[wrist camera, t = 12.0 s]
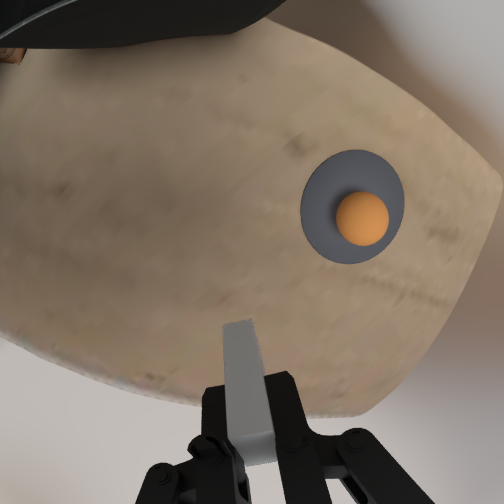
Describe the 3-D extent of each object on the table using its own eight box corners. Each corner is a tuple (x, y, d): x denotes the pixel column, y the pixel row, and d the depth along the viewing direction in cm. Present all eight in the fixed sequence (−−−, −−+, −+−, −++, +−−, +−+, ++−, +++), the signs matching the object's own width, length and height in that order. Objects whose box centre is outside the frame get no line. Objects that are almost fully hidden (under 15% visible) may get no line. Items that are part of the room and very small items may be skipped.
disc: (309, 275, 32) (310, 276, 32) (290, 160, 27) (291, 160, 27) (404, 248, 32) (405, 249, 32) (398, 144, 27) (399, 144, 27)
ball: (342, 234, 32) (336, 256, 27) (336, 187, 29) (329, 202, 25) (388, 232, 29) (390, 254, 25) (385, 184, 27) (388, 198, 23)
